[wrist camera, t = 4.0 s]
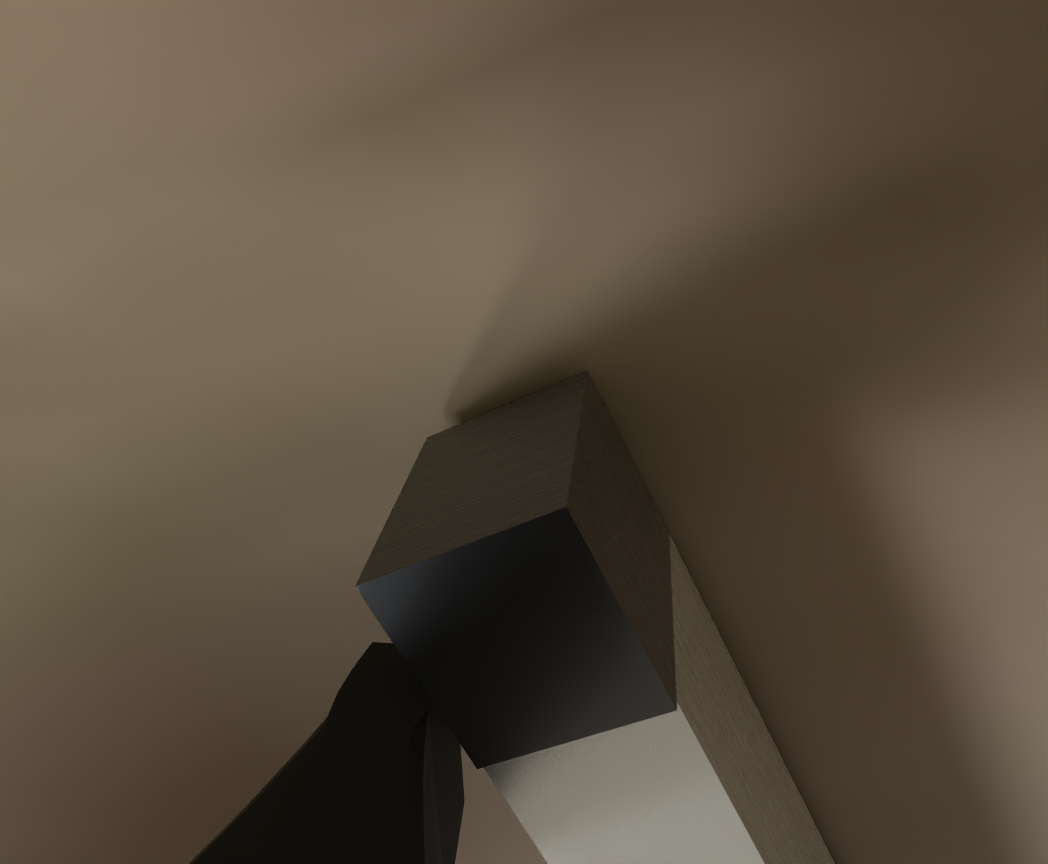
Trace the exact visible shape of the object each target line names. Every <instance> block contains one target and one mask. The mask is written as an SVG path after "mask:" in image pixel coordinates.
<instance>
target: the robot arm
mask: <svg viewBox="0 0 1048 864" xmlns="http://www.w3.org/2000/svg"><path fill="white" fill-rule="evenodd" d="M463 807H464V788H463V774H462V761H461V747H460V743H459V741H458V740H457V738H456V737H455V735H454V734H453V732H452V731H451V729H450V728H449V726H448V725H447V723H446V722H445V720H444V719H443V717H442V716H441V714H440V713H439V711H438V710H437V708H436V707H435V705H434V704H433V702H432V701H431V699H430V698H429V696H428V695H427V693H426V692H425V690H424V689H423V687H422V686H421V684H420V683H419V681H418V680H417V678H416V677H415V675H414V674H413V672H412V671H411V669H410V668H409V666H408V665H407V663H406V662H405V660H404V659H403V657H402V656H401V654H400V653H399V651H398V650H397V648H396V647H395V645H394V644H393V643H377V642H372V643H371V645H370V646H369V647H368V649H367V650H366V651H365V653H364V654H363V655H362V657H361V658H360V659H359V661H358V662H357V663H356V665H355V666H354V668H353V669H352V671H351V672H350V674H349V676H348V677H347V679H346V680H345V682H344V683H343V685H342V687H341V688H340V690H339V691H338V693H337V696H336V698H335V700H334V703H333V705H332V707H331V710H330V712H329V715H328V717H327V718H326V719H325V720H324V721H323V723H322V724H321V725H320V726H319V727H318V728H317V729H316V731H315V732H314V733H313V734H312V735H311V736H310V737H309V739H308V740H307V741H306V742H305V743H304V744H303V745H302V747H301V748H300V749H299V750H298V751H297V752H296V753H295V754H294V755H293V756H292V757H291V758H290V760H289V761H288V762H287V763H286V764H285V765H284V766H283V767H282V768H281V769H280V770H279V772H278V773H277V774H276V775H275V776H274V777H273V778H272V779H271V780H270V781H269V782H268V783H267V785H266V786H265V787H264V788H263V789H262V790H261V791H260V792H259V793H258V794H257V795H256V796H255V798H254V799H253V800H252V801H251V802H250V803H249V804H248V805H247V806H246V807H245V808H244V809H243V810H242V811H241V812H240V813H239V814H238V815H237V817H236V818H235V819H234V820H233V821H232V822H231V823H230V824H229V825H228V826H227V827H226V828H225V829H224V830H223V831H222V832H221V833H220V834H219V835H218V836H217V837H215V838H214V839H213V840H212V841H211V842H210V843H209V844H208V845H207V846H206V847H205V848H204V849H203V850H202V851H201V852H200V853H199V854H198V855H197V856H196V857H195V858H194V859H193V860H192V861H191V862H190V863H189V864H455V858H456V851H457V845H458V839H459V832H460V826H461V819H462V813H463Z"/></svg>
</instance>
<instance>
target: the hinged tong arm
mask: <svg viewBox="0 0 1048 864" xmlns="http://www.w3.org/2000/svg"><path fill="white" fill-rule="evenodd" d="M355 587H356V588H357V590H358V591H359V593H360V594H361V596H362V597H363V599H364V600H365V602H366V603H367V605H368V606H369V608H370V609H371V611H372V612H373V614H374V615H375V617H376V618H377V620H378V621H379V623H380V624H381V626H382V627H383V629H384V630H385V632H386V633H387V635H388V636H389V638H390V639H391V641H392V642H393V644H394V645H395V647H396V648H397V650H398V651H399V653H400V654H401V656H402V657H403V659H404V660H405V662H406V663H407V665H408V666H409V668H410V669H411V671H412V672H413V674H414V675H415V677H416V678H417V680H418V681H419V683H420V684H421V686H422V687H423V689H424V690H425V692H426V693H427V695H428V696H429V698H430V699H431V701H432V702H433V704H434V705H435V707H436V708H437V710H438V711H439V713H440V714H441V716H442V717H443V719H444V720H445V722H446V723H447V725H448V726H449V728H450V729H451V731H452V732H453V734H454V735H455V737H456V738H457V740H458V741H459V743H460V744H461V746H462V747H463V749H464V750H465V752H466V753H467V755H468V756H469V758H470V759H471V761H472V762H473V764H474V765H475V767H476V768H477V769H479V768H483V767H484V768H485V770H486V771H487V773H488V774H489V776H490V777H491V779H492V780H493V782H494V783H495V785H496V786H497V788H498V789H499V791H500V792H501V794H502V795H503V797H504V798H505V800H506V801H507V803H508V804H509V806H510V807H511V809H512V810H513V812H514V814H515V815H516V817H517V818H518V820H519V821H520V823H521V824H522V826H523V827H524V829H525V830H526V832H527V833H528V835H529V836H530V838H531V839H532V841H533V842H534V844H535V845H536V847H537V848H538V850H539V851H540V853H541V854H542V856H543V857H544V859H545V860H546V862H547V863H548V864H835V862H834V860H833V858H832V856H831V854H830V852H829V850H828V848H827V846H826V844H825V842H824V840H823V839H822V837H821V835H820V833H819V831H818V829H817V827H816V825H815V823H814V821H813V819H812V817H811V815H810V813H809V811H808V809H807V807H806V805H805V803H804V801H803V799H802V797H801V795H800V793H799V791H798V789H797V787H796V785H795V783H794V781H793V779H792V777H791V775H790V773H789V771H788V769H787V767H786V765H785V763H784V761H783V759H782V757H781V755H780V753H779V751H778V749H777V747H776V745H775V743H774V741H773V739H772V737H771V735H770V733H769V731H768V729H767V727H766V725H765V723H764V721H763V719H762V717H761V715H760V713H759V711H758V709H757V707H756V705H755V703H754V701H753V699H752V697H751V695H750V693H749V691H748V689H747V687H746V685H745V683H744V681H743V679H742V677H741V676H740V674H739V672H738V670H737V668H736V666H735V664H734V662H733V660H732V658H731V656H730V654H729V652H728V650H727V648H726V646H725V644H724V642H723V640H722V638H721V636H720V634H719V632H718V630H717V628H716V626H715V624H714V622H713V620H712V618H711V616H710V614H709V612H708V610H707V608H706V606H705V604H704V602H703V600H702V598H701V596H700V594H699V592H698V590H697V588H696V586H695V584H694V582H693V580H692V578H691V576H690V574H689V572H688V570H687V568H686V566H685V564H684V562H683V560H682V558H681V556H680V554H679V552H678V550H677V548H676V546H675V544H674V542H673V540H672V538H671V536H670V534H669V532H668V530H667V528H666V526H665V524H664V522H663V520H662V518H661V516H660V515H659V513H658V511H657V509H656V507H655V505H654V503H653V501H652V499H651V497H650V495H649V493H648V491H647V489H646V487H645V485H644V483H643V481H642V479H641V477H640V475H639V473H638V471H637V469H636V467H635V465H634V463H633V461H632V459H631V457H630V455H629V453H628V451H627V449H626V447H625V445H624V443H623V441H622V439H621V437H620V435H619V433H618V431H617V429H616V427H615V425H614V423H613V421H612V419H611V417H610V415H609V413H608V411H607V409H606V407H605V405H604V403H603V401H602V399H601V397H600V395H599V393H598V391H597V389H596V387H595V385H594V383H593V381H592V379H591V377H590V375H589V373H588V371H587V370H586V371H584V372H582V373H579V374H577V375H575V376H572V377H570V378H567V379H565V380H563V381H560V382H558V383H556V384H553V385H551V386H549V387H546V388H544V389H541V390H539V391H537V392H534V393H532V394H530V395H527V396H525V397H522V398H520V399H518V400H515V401H513V402H511V403H508V404H506V405H504V406H501V407H499V408H496V409H494V410H492V411H489V412H487V413H485V414H482V415H480V416H477V417H475V418H473V419H470V420H468V421H466V422H463V423H461V424H459V425H456V426H454V427H451V428H449V429H447V430H444V431H442V432H440V433H437V434H435V435H432V436H430V437H428V438H427V439H426V441H425V443H424V445H423V447H422V449H421V451H420V454H419V456H418V458H417V460H416V462H415V464H414V466H413V468H412V470H411V472H410V474H409V476H408V478H407V480H406V482H405V485H404V487H403V489H402V491H401V493H400V495H399V497H398V499H397V501H396V503H395V505H394V507H393V509H392V511H391V513H390V515H389V518H388V520H387V522H386V524H385V526H384V528H383V530H382V532H381V534H380V536H379V538H378V540H377V542H376V544H375V546H374V549H373V551H372V553H371V555H370V557H369V559H368V561H367V563H366V565H365V567H364V569H363V571H362V573H361V575H360V577H359V579H358V582H357V584H356V586H355Z"/></svg>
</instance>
